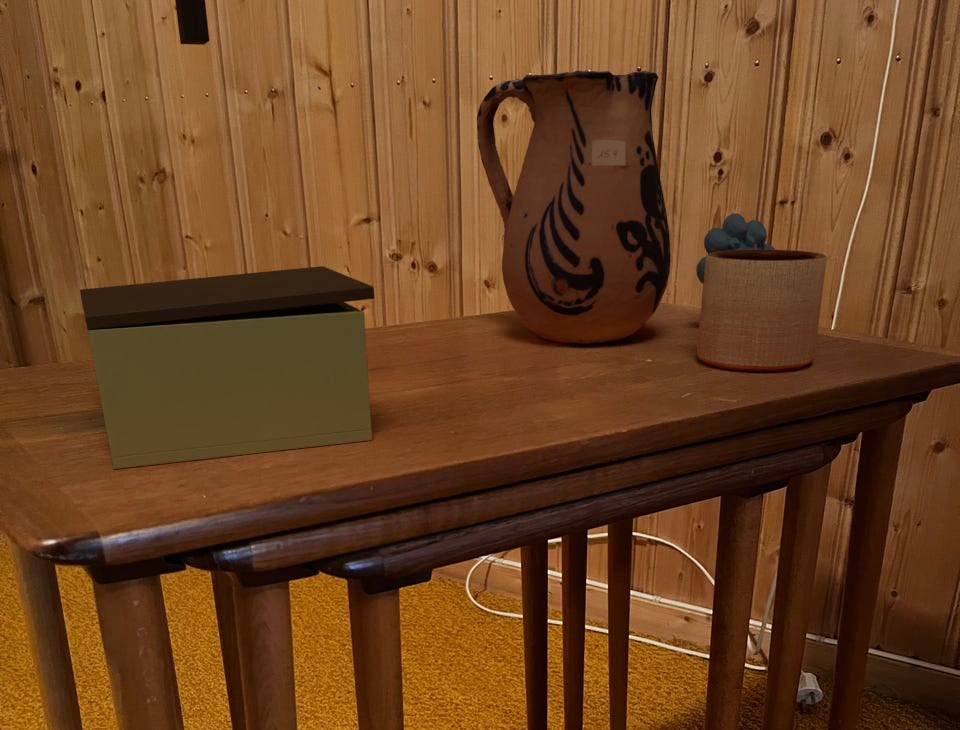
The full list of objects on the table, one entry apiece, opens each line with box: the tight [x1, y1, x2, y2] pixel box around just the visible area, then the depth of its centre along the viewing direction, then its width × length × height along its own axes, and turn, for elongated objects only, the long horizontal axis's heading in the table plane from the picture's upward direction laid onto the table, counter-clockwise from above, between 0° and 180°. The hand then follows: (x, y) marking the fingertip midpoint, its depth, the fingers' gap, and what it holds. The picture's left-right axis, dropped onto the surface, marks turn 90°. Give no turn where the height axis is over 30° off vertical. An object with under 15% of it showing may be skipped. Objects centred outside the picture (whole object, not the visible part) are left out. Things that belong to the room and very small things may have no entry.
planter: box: [696, 249, 828, 373], centre depth 91 cm, size 11×11×10 cm
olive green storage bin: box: [86, 302, 373, 470], centre depth 71 cm, size 18×15×9 cm
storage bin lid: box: [79, 265, 376, 330], centre depth 69 cm, size 18×15×1 cm
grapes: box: [696, 212, 776, 285], centre depth 108 cm, size 12×7×12 cm, turn 120°
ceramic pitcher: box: [476, 70, 672, 345], centre depth 101 cm, size 18×21×25 cm
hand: (194, 42), depth 62 cm, fingers closed
